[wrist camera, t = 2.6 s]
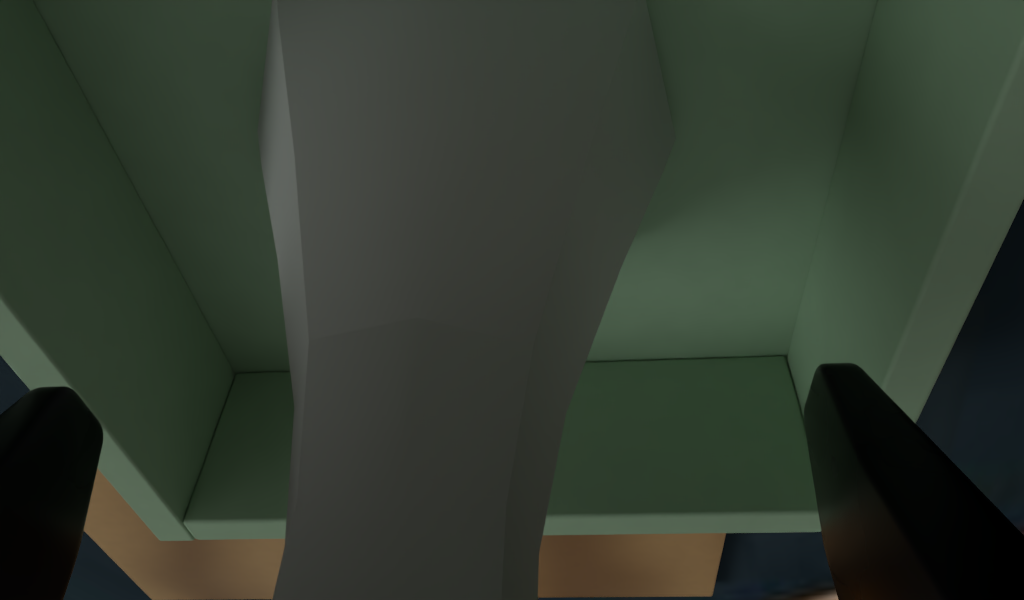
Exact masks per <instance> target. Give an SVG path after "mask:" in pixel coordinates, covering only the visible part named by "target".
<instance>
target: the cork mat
mask: <svg viewBox="0 0 1024 600" xmlns="http://www.w3.org/2000/svg"><path fill="white" fill-rule="evenodd" d="M84 531H85V532H86V533H87V534H88V535H89V536H90V537H91V538H92V539H93V540H94V541H95V542H96V543H97V544H98V545H99V546H100V547H101V548H102V549H103V550H104V551H105V552H106V554H107V555H108V556H109V557H110V558H111V559H112V560H113V561H114V562H115V563H116V564H117V565H118V566H119V567H120V568H121V569H122V570H123V571H124V572H125V573H126V574H127V575H128V576H129V577H130V578H131V579H132V580H133V581H134V582H135V583H136V584H137V585H138V586H139V587H140V588H141V589H142V590H143V591H144V592H145V593H146V594H147V595H148V596H149V597H150V598H151V599H152V600H179V599H273V594H274V590H275V586H276V582H277V577H278V573H279V569H280V565H281V560H282V556H283V552H284V548H285V539H224V540H198V539H194V540H193V541H160V540H159V539H158V538H157V537H156V536H155V535H154V533H153V532H152V531H151V530H150V529H149V528H148V527H147V525H146V524H145V523H144V522H143V521H142V520H141V518H140V517H139V516H138V515H137V514H136V513H135V511H134V510H133V509H132V508H131V507H130V506H129V504H128V503H127V502H126V501H125V500H124V499H123V497H122V496H121V495H120V494H119V493H118V492H117V490H116V489H115V488H114V487H113V486H112V485H111V483H110V482H109V481H108V480H107V479H106V478H105V476H104V475H103V474H102V473H101V472H100V471H99V469H98V468H97V472H96V477H95V481H94V486H93V490H92V495H91V499H90V504H89V508H88V513H87V517H86V522H85V526H84ZM725 537H726V533H692V534H614V535H543V536H542V541H541V546H540V551H539V572H538V597H674V596H712V595H713V590H714V586H715V581H716V577H717V572H718V568H719V564H720V559H721V555H722V550H723V546H724V541H725Z"/></svg>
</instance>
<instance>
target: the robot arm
mask: <svg viewBox="0 0 1024 600" xmlns="http://www.w3.org/2000/svg"><path fill="white" fill-rule="evenodd" d="M804 426H805V432H806V439H807V445H808V451H809V457H810V464H811V470H812V476H813V482H814V489H815V495H816V501H817V507H818V514H819V520H820V526H821V532H822V537H823V543H824V548H825V552H826V556H827V560H828V563H829V567H830V571H831V574H832V578H833V581H834V585H835V588H836V592H837V595H838V599H839V600H1024V535H1023V534H1022V533H1021V532H1020V531H1019V530H1018V529H1017V528H1016V527H1015V526H1014V525H1013V524H1012V523H1011V522H1010V521H1009V520H1008V519H1007V518H1006V517H1005V516H1004V515H1003V513H1002V512H1001V511H1000V510H999V509H998V508H997V507H996V506H995V505H994V504H993V503H992V502H991V501H990V500H989V499H988V498H987V497H986V496H985V495H984V494H983V493H982V492H981V491H980V490H979V489H978V488H977V487H976V486H975V485H974V484H973V483H972V481H971V480H970V479H969V478H968V477H967V476H966V475H965V474H964V473H963V472H962V471H961V470H960V469H959V468H958V467H957V466H956V465H955V464H954V463H953V462H952V461H951V460H950V459H949V458H948V457H947V456H946V455H945V454H944V453H943V452H942V451H941V449H940V448H939V447H938V446H937V445H936V444H935V443H934V442H933V441H932V440H931V439H930V438H929V437H928V436H927V435H926V434H925V433H924V432H923V431H922V430H921V429H920V428H919V427H918V426H917V425H916V424H915V423H914V422H913V421H912V420H911V419H910V417H909V416H908V415H907V414H906V413H905V412H904V411H903V410H902V409H901V408H900V407H899V406H898V405H897V404H896V403H895V402H894V401H893V400H892V399H891V398H890V397H889V396H888V395H887V394H886V393H885V392H884V391H883V390H882V389H881V388H880V387H879V385H878V384H877V383H876V382H875V381H874V380H873V379H872V378H871V377H870V376H869V375H868V374H867V373H866V372H865V371H864V370H863V369H862V368H861V367H859V366H858V365H856V364H854V363H824V364H821V365H819V366H818V367H817V369H816V371H815V373H814V376H813V380H812V383H811V386H810V390H809V393H808V396H807V400H806V403H805V407H804ZM102 445H103V429H102V426H101V424H100V422H99V420H98V419H97V418H96V417H95V415H94V414H93V413H92V412H91V410H90V409H89V408H88V407H87V405H86V404H85V403H84V402H83V400H82V399H81V398H80V397H79V395H78V394H77V393H76V392H75V391H74V390H73V389H71V388H69V387H65V386H57V387H39V388H35V389H33V390H31V391H29V392H28V393H27V394H25V395H24V396H23V397H22V398H20V399H19V400H18V401H17V402H16V403H14V404H13V405H12V406H11V407H9V408H8V409H7V410H6V411H5V412H3V413H2V414H1V415H0V600H63V598H64V595H65V592H66V589H67V586H68V583H69V580H70V577H71V574H72V571H73V568H74V564H75V561H76V558H77V555H78V551H79V547H80V543H81V539H82V535H83V531H84V526H85V522H86V517H87V513H88V508H89V504H90V499H91V495H92V490H93V486H94V481H95V477H96V472H97V468H98V463H99V459H100V454H101V449H102Z"/></svg>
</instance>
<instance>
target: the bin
mask: <svg viewBox="0 0 1024 600" xmlns="http://www.w3.org/2000/svg"><path fill="white" fill-rule="evenodd" d="M646 3H647V7H648V12H649V16H650V21H651V26H652V30H653V35H654V40H655V44H656V49H657V53H658V58H659V63H660V67H661V72H662V77H663V81H664V86H665V90H666V95H667V100H668V104H669V109H670V114H671V118H672V123H673V127H674V132H675V137H676V139H675V142H674V145H673V147H672V150H671V152H670V155H669V158H668V160H667V163H666V166H665V168H664V171H663V173H662V175H661V178H660V180H659V182H658V185H657V187H656V189H655V191H654V194H653V196H652V198H651V201H650V203H649V205H648V207H647V210H646V212H645V214H644V217H643V219H642V221H641V223H640V226H639V228H638V230H637V233H636V235H635V237H634V239H633V242H632V244H631V246H630V249H629V251H628V253H627V255H626V258H625V260H624V262H623V265H622V267H621V269H620V272H619V275H618V277H617V280H616V283H615V285H614V288H613V291H612V293H611V296H610V299H609V301H608V304H607V306H606V309H605V312H604V314H603V317H602V320H601V322H600V325H599V328H598V330H597V333H596V336H595V338H594V341H593V344H592V346H591V349H590V351H589V354H588V357H587V359H586V362H585V365H584V367H583V370H582V373H581V375H580V378H579V381H578V383H577V386H576V388H575V391H574V394H573V396H572V399H571V402H570V404H569V407H568V410H567V412H566V416H565V421H564V426H563V431H562V437H561V442H560V447H559V452H558V458H557V463H556V468H555V473H554V478H553V484H552V489H551V494H550V499H549V505H548V510H547V515H546V520H545V525H544V531H543V535H614V534H692V533H769V532H819V531H821V526H820V520H819V514H818V507H817V501H816V495H815V489H814V482H813V476H812V470H811V464H810V457H809V451H808V445H807V439H806V432H805V426H804V407H805V403H806V400H807V396H808V393H809V390H810V386H811V383H812V380H813V376H814V373H815V371H816V369H817V367H818V366H819V365H821V364H824V363H854V364H856V365H858V366H859V367H861V368H862V369H863V370H864V371H865V372H866V373H867V374H868V375H869V376H870V377H871V378H872V379H873V380H874V381H875V382H876V383H877V384H878V385H879V387H880V388H881V389H882V390H883V391H884V392H885V393H886V394H887V395H888V396H889V397H890V398H891V399H892V400H893V401H894V402H895V403H896V404H897V405H898V406H899V407H900V408H901V409H902V410H903V411H904V412H905V413H906V414H907V415H908V416H909V417H910V419H911V420H912V421H913V422H914V423H915V424H916V422H917V419H918V417H919V415H920V413H921V411H922V409H923V407H924V405H925V403H926V401H927V399H928V397H929V395H930V392H931V390H932V388H933V386H934V384H935V382H936V380H937V378H938V376H939V374H940V372H941V370H942V368H943V365H944V363H945V361H946V359H947V357H948V355H949V353H950V351H951V349H952V347H953V345H954V343H955V340H956V338H957V336H958V334H959V332H960V330H961V328H962V326H963V324H964V322H965V320H966V318H967V316H968V313H969V311H970V309H971V307H972V305H973V303H974V301H975V299H976V297H977V295H978V293H979V291H980V289H981V286H982V284H983V282H984V280H985V278H986V276H987V274H988V272H989V270H990V268H991V266H992V264H993V262H994V259H995V257H996V255H997V253H998V251H999V249H1000V247H1001V245H1002V243H1003V241H1004V239H1005V237H1006V235H1007V232H1008V230H1009V228H1010V226H1011V224H1012V222H1013V220H1014V218H1015V216H1016V214H1017V212H1018V210H1019V208H1020V205H1021V203H1022V201H1023V199H1024V0H646ZM271 6H272V0H0V355H1V356H2V358H3V359H4V360H5V361H6V362H7V363H8V365H9V366H10V367H11V368H12V369H13V370H14V372H15V373H16V374H17V375H18V376H19V377H20V379H21V380H22V381H23V382H24V383H25V384H26V386H27V387H28V388H29V389H30V390H33V389H35V388H39V387H57V386H65V387H69V388H71V389H73V390H74V391H75V392H76V393H77V394H78V395H79V397H80V398H81V399H82V400H83V402H84V403H85V404H86V405H87V407H88V408H89V409H90V410H91V412H92V413H93V414H94V415H95V417H96V418H97V419H98V420H99V422H100V424H101V426H102V429H103V445H102V449H101V454H100V459H99V463H98V469H99V471H100V472H101V473H102V474H103V475H104V476H105V478H106V479H107V480H108V481H109V482H110V483H111V485H112V486H113V487H114V488H115V489H116V490H117V492H118V493H119V494H120V495H121V496H122V497H123V499H124V500H125V501H126V502H127V503H128V504H129V506H130V507H131V508H132V509H133V510H134V511H135V513H136V514H137V515H138V516H139V517H140V518H141V520H142V521H143V522H144V523H145V524H146V525H147V527H148V528H149V529H150V530H151V531H152V532H153V533H154V535H155V536H156V537H157V538H158V539H159V540H160V541H193V540H194V539H198V540H224V539H285V535H286V520H287V506H288V491H289V477H290V462H291V448H292V433H293V419H294V400H293V391H292V383H291V374H290V365H289V356H288V347H287V338H286V330H285V321H284V312H283V303H282V294H281V286H280V277H279V268H278V259H277V254H276V248H275V242H274V236H273V230H272V224H271V218H270V212H269V207H268V201H267V195H266V189H265V183H264V177H263V171H262V166H261V158H260V149H259V141H258V132H257V130H258V121H259V113H260V104H261V95H262V86H263V77H264V68H265V59H266V51H267V42H268V33H269V24H270V15H271Z"/></svg>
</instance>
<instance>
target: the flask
mask: <svg viewBox="0 0 1024 600" xmlns="http://www.w3.org/2000/svg"><path fill="white" fill-rule="evenodd" d="M257 132H258V141H259V149H260V158H261V166H262V171H263V177H264V183H265V189H266V195H267V201H268V207H269V212H270V218H271V224H272V230H273V236H274V242H275V248H276V254H277V259H278V268H279V277H280V286H281V294H282V303H283V312H284V321H285V330H286V338H287V347H288V356H289V365H290V374H291V383H292V391H293V400H294V419H293V433H292V448H291V462H290V477H289V491H288V506H287V520H286V535H285V548H284V552H283V556H282V560H281V565H280V569H279V573H278V577H277V582H276V586H275V590H274V594H273V599H272V600H538V572H539V551H540V546H541V541H542V536H543V531H544V525H545V520H546V515H547V510H548V505H549V499H550V494H551V489H552V484H553V478H554V473H555V468H556V463H557V458H558V452H559V447H560V442H561V437H562V431H563V426H564V421H565V416H566V412H567V410H568V407H569V404H570V402H571V399H572V396H573V394H574V391H575V388H576V386H577V383H578V381H579V378H580V375H581V373H582V370H583V367H584V365H585V362H586V359H587V357H588V354H589V351H590V349H591V346H592V344H593V341H594V338H595V336H596V333H597V330H598V328H599V325H600V322H601V320H602V317H603V314H604V312H605V309H606V306H607V304H608V301H609V299H610V296H611V293H612V291H613V288H614V285H615V283H616V280H617V277H618V275H619V272H620V269H621V267H622V265H623V262H624V260H625V258H626V255H627V253H628V251H629V249H630V246H631V244H632V242H633V239H634V237H635V235H636V233H637V230H638V228H639V226H640V223H641V221H642V219H643V217H644V214H645V212H646V210H647V207H648V205H649V203H650V201H651V198H652V196H653V194H654V191H655V189H656V187H657V185H658V182H659V180H660V178H661V175H662V173H663V171H664V168H665V166H666V163H667V160H668V158H669V155H670V152H671V150H672V147H673V145H674V142H675V139H676V137H675V132H674V127H673V123H672V118H671V114H670V109H669V104H668V100H667V95H666V90H665V86H664V81H663V77H662V72H661V67H660V63H659V58H658V53H657V49H656V44H655V40H654V35H653V30H652V26H651V21H650V16H649V12H648V7H647V3H646V0H272V6H271V15H270V24H269V33H268V42H267V51H266V59H265V68H264V77H263V86H262V95H261V104H260V113H259V121H258V130H257Z"/></svg>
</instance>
